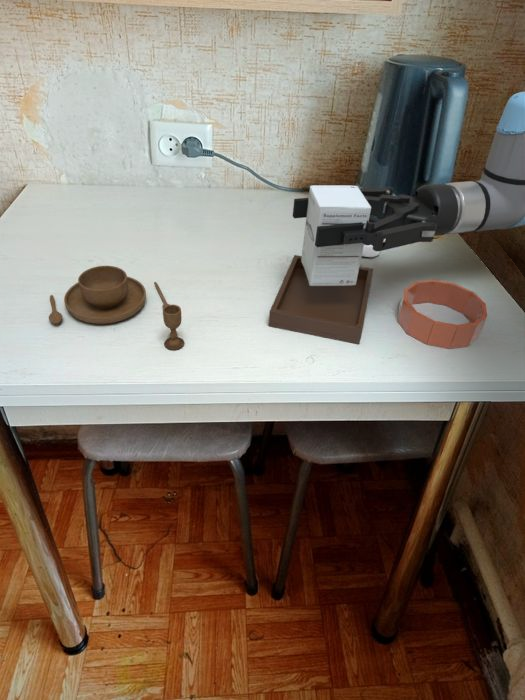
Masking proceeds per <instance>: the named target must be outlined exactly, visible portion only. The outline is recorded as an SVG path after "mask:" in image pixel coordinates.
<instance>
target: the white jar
mask: <svg viewBox="0 0 525 700" xmlns="http://www.w3.org/2000/svg"><path fill="white" fill-rule="evenodd" d="M380 254H381V251H374V250H373V246H372V245H364V246H363V251H362V256H361V257H365V258H374V257H377V256H380Z"/></svg>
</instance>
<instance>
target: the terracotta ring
mask: <svg viewBox="0 0 525 700" xmlns="http://www.w3.org/2000/svg"><path fill="white" fill-rule="evenodd" d="M424 303H425V304H426V303H430V304H436V305H442V306H446V307H448V308H450V309H453V310H454V311H456V312H458V313H460V314H463V316H465V317H466V319H468V320H469V322H466V323H462V324H461V323H460V324H454V323H449V322H444V321H438V320H434V319H433V318H431V317H428V316H427V315H424V314H422V313H420V312H418V311H417V310H416V309H415V308H414V307H413V305H416V304H424ZM487 318H488V309H487V303H486V302H485V301H484V300H482V299H481V297H479V296H478V295H477V294H476V293H475V292H474V291H473V290H470V289H468V288H466V287H463V286H462V285H459V284H457V283H454V282H449V281H444V280H439V279H427V280H419V281H414V282H412V283H411V284H409V285H408V286H407V287H405V288H404V289H403V292H402V296H401V299H400V304H399V306H398V310H397V323H398V324H399V325H400V327H401V328H402V330H403V331H404V332H405V333H406V334H407V335H408V336H410V337H412V338H414V339H415V340H418V341H419V342H421V343H422V344H425V345H428V346H433V347H439V348H443V349H448V350H449V349H450V350H451V349H458V348H459V349H460V348H465V347H469V346H471V345H472V344H473V343H474V342H476V340H477V339H479V337H480V336H481V333H482V330H483V327H484V326H485V324H486V320H487Z"/></svg>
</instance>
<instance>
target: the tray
mask: <svg viewBox="0 0 525 700" xmlns="http://www.w3.org/2000/svg"><path fill="white" fill-rule="evenodd" d="M301 259H302V255H297V254H294V255H293V258H292V260H291V261H290V264H289V265H288V266H289V267H288V268H287V271H286V274H285V275H284V278H283V280H282V282H281V284H280V287H279V289H278V292H277V294H276V295H275V299H274V301H273V303H272V305H271V308H270V310H269V318H268V327H270V328H271V327H272V328H276V329H279V330H280V329H281V330H286V331H290V332H295V333H301V334H305V335H311V336H315V337H321V338H326V339H331V340H335V341H341V342H345V343H349V344H350V343H351V344H356V345H360V343H361V338H362V334H363V330H364V324H365V317H366V314H367V313H366V312H367V307H368V302H369V296H370V291H371V286H372V281H373V273H374V268H370V267H366V266H365V267H364V266H361V265H360V266H359V271H358V276H357V281H356V285H348V286H310V285H309V282H308V278H307V275H306V272H305V269H304V266H303V264H302V262H301Z"/></svg>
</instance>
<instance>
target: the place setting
mask: <svg viewBox="0 0 525 700" xmlns="http://www.w3.org/2000/svg"><path fill="white" fill-rule="evenodd" d="M77 280H78V282H76V283H74V284H73V285H72V286H71V287H69V288H68V289H67V291H66V293H65V294H64V299H63V301H64V303H63V304H64V307H65V308H66V310H67V312H68V313H69V314H70V315H71V316H73V317H74V318H76V319H78V320H80V321H81V322H86V323H90V324H101V325H102V324H104V325H105V324H112V323H113V324H114V323H118V322H120V321H124V320H126V319H128V318H130V317H132V316H134V315H135V314H137V313H139V311H140V310H141V309H142V308H143V306H144V305H145V304H146V303H145V302H146V299H147V290H146V288H145V286H144V285H143V283H141V282H140V281H139V280H137V279H136V278H133V277H130V276H128V275H127V273H126V271H125V270H123V269H122V268H121V267H117V266H115V265H114V266H113V265H99V266H93V267H91V268H88V269H86V270H84V271H83V272H82V273H80V275H79V276H78V279H77ZM153 283H154V287H155V289H156V291H157V292H158V295H159V296H160V299H161V300H162V302H163V304H162V318H163V324H164V325H165V327H166V328H167V329H169V330H170V332H169V337H168V338H166V339H165V340H164V342H163V345H164V347H165V349H167V350H170V351H178V350H180V349H183V348H184V346H185V340H184V339H183V338H182V337H179V336H178V335H179V334H178V332H177V329H178V328H179V327H180V326H181V324H182V309H181V306H180V305H177V304H169V303H168V302H167V299H166V298H165V295H164V294H163V292H162V290H161V287H160V286H159V284H158V283H157V281H154V282H153ZM49 302H50V305H51V310H52V311H51V312H50V314H49V315H48V321H49V322H50V323H52V324H60V323H61V321H62V320H63V314H62V313H61V312H59V311H58V310H57V308H56V301H55V297H54V295H53V294H50V295H49Z"/></svg>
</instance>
